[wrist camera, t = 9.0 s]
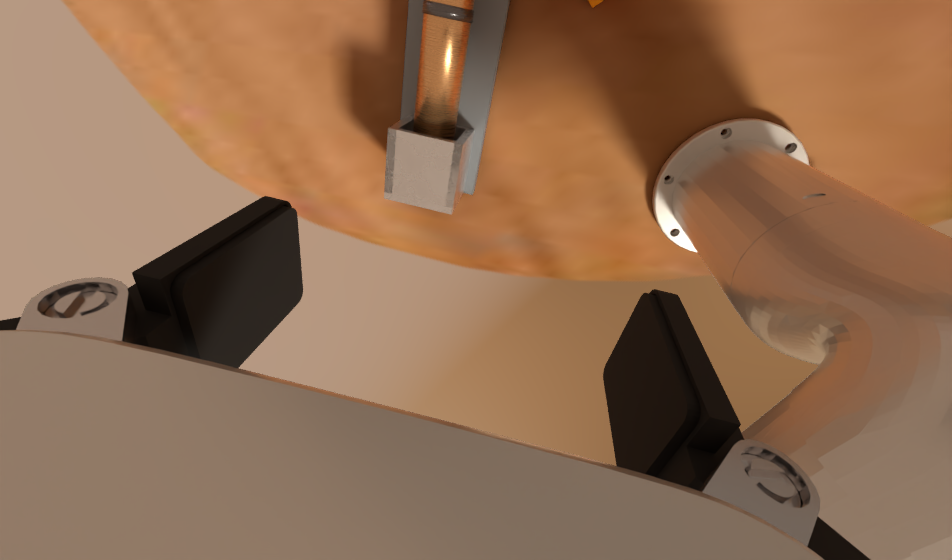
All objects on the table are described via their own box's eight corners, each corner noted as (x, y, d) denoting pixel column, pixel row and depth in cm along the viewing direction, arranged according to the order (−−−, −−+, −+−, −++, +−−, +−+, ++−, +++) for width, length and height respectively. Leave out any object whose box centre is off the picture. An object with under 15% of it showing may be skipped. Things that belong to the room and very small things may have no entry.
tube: (495, -103, 27) (488, -121, 24) (459, 134, 36) (450, 144, 33) (441, -114, 27) (427, -133, 24) (418, 125, 36) (406, 134, 33)
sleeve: (474, 129, 36) (462, 145, 31) (464, 191, 40) (451, 214, 35) (410, 114, 37) (388, 127, 32) (404, 177, 40) (384, 198, 35)
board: (533, -121, 28) (532, -127, 27) (474, 190, 41) (472, 194, 40) (424, -144, 28) (419, -150, 27) (400, 173, 41) (396, 176, 40)
